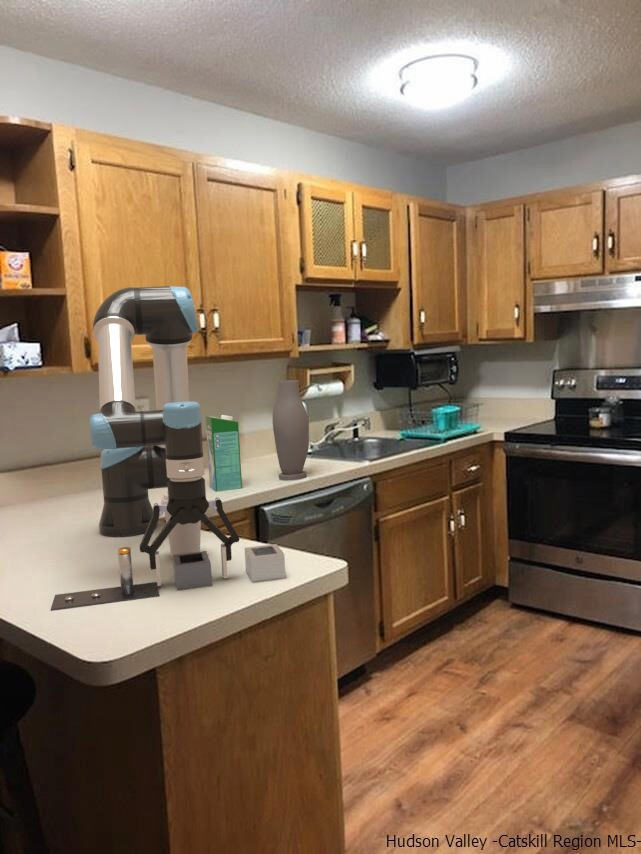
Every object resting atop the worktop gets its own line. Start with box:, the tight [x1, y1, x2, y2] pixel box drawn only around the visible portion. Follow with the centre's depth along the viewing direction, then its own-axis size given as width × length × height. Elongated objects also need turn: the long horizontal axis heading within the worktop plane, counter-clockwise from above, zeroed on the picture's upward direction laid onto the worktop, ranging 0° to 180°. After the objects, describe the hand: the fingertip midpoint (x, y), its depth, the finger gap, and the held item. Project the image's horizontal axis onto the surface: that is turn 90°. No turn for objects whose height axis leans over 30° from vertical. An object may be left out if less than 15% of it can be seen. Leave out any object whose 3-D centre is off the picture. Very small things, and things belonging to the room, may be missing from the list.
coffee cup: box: [160, 491, 202, 559], centre depth 162 cm, size 10×10×15 cm
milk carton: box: [205, 414, 243, 492], centre depth 238 cm, size 9×9×25 cm
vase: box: [272, 379, 310, 481], centre depth 250 cm, size 13×13×35 cm
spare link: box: [244, 543, 286, 583], centre depth 147 cm, size 8×7×5 cm
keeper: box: [50, 546, 160, 611], centre depth 138 cm, size 8×20×9 cm, turn 105°
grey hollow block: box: [172, 550, 213, 591], centre depth 144 cm, size 8×7×5 cm
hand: (192, 580), depth 144 cm, fingers open, 13 cm apart
